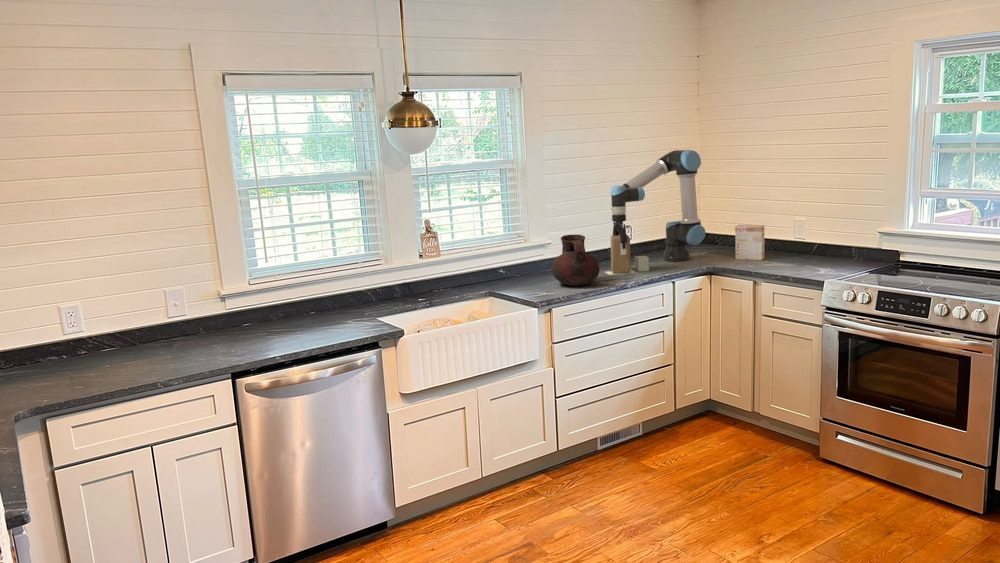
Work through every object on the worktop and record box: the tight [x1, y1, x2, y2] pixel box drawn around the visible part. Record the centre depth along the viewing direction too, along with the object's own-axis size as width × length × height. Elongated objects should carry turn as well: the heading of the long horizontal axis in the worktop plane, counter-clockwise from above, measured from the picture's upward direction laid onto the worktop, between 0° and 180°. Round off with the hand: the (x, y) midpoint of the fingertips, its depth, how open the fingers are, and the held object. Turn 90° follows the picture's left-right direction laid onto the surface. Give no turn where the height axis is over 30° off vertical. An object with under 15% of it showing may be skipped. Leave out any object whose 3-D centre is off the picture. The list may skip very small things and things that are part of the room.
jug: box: [551, 234, 600, 287], centre depth 385 cm, size 25×25×25 cm
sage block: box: [634, 255, 650, 273], centre depth 413 cm, size 6×6×8 cm
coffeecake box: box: [734, 224, 765, 261], centre depth 428 cm, size 15×7×20 cm, turn 59°
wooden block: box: [610, 234, 631, 274], centre depth 410 cm, size 10×10×20 cm
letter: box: [604, 268, 639, 276], centre depth 412 cm, size 16×11×1 cm
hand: (620, 253), depth 410 cm, fingers open, 12 cm apart
